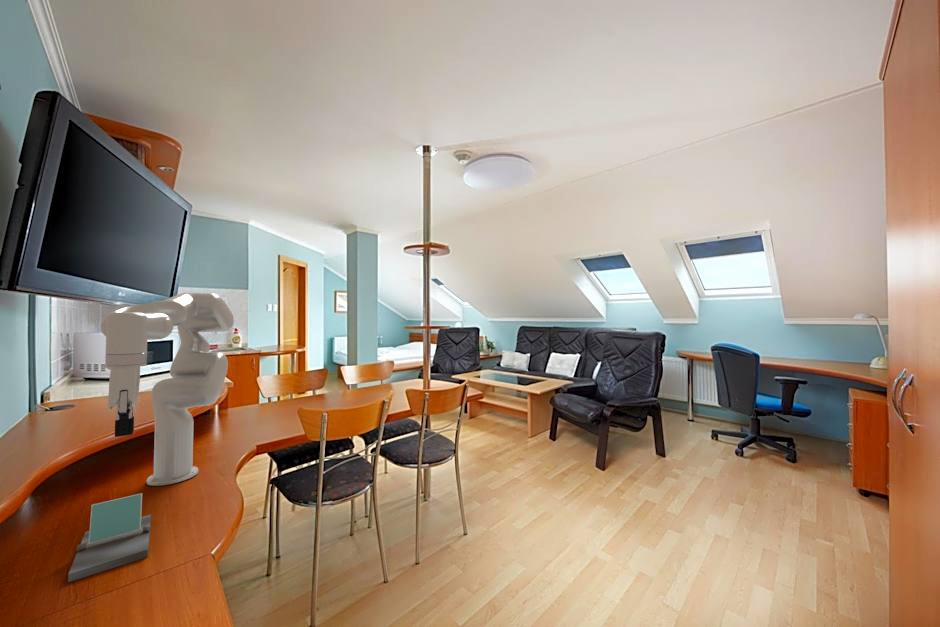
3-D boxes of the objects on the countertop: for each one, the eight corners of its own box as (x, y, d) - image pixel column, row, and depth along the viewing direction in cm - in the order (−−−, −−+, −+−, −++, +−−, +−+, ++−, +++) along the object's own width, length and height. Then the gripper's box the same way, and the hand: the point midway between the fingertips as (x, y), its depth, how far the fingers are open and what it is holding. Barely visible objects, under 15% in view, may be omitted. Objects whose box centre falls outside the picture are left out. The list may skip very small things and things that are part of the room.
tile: (92, 504, 76) (91, 504, 75) (142, 493, 81) (142, 493, 81) (88, 543, 74) (88, 544, 73) (140, 529, 79) (140, 529, 78)
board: (84, 538, 79) (84, 526, 79) (151, 520, 86) (151, 509, 87) (67, 582, 66) (67, 567, 66) (148, 556, 73) (148, 543, 73)
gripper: (109, 359, 92) (107, 430, 91) (100, 364, 80) (97, 445, 79) (148, 357, 97) (146, 424, 96) (145, 362, 85) (143, 438, 84)
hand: (124, 433), depth 88 cm, fingers closed
